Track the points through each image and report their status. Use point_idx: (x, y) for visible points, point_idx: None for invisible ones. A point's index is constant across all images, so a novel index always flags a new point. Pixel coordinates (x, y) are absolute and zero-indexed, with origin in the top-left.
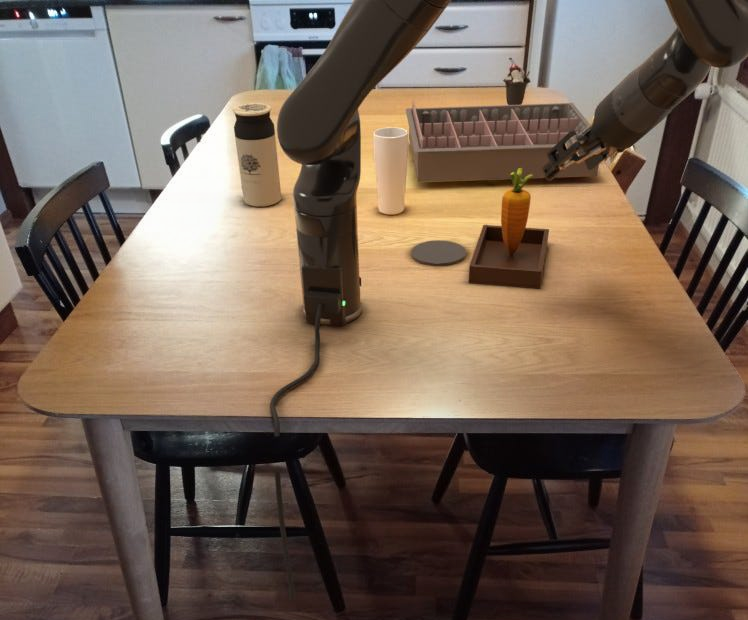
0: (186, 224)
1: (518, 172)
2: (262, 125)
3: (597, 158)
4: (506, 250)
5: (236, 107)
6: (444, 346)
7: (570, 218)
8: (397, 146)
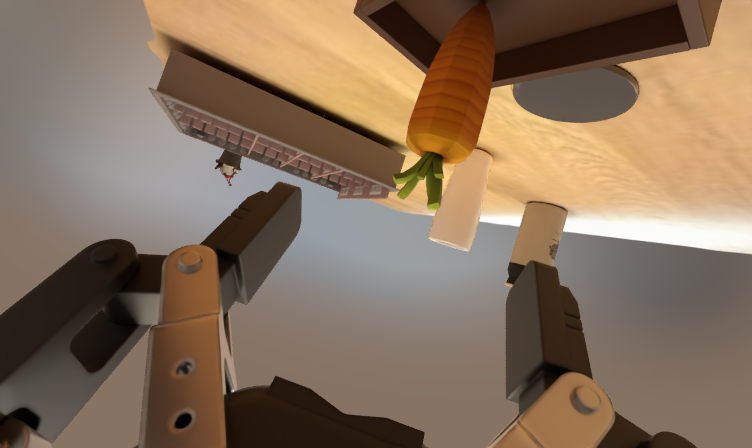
0: (646, 232)
1: (435, 208)
2: None
3: (262, 245)
4: None
5: None
6: None
7: (257, 7)
8: (458, 234)
